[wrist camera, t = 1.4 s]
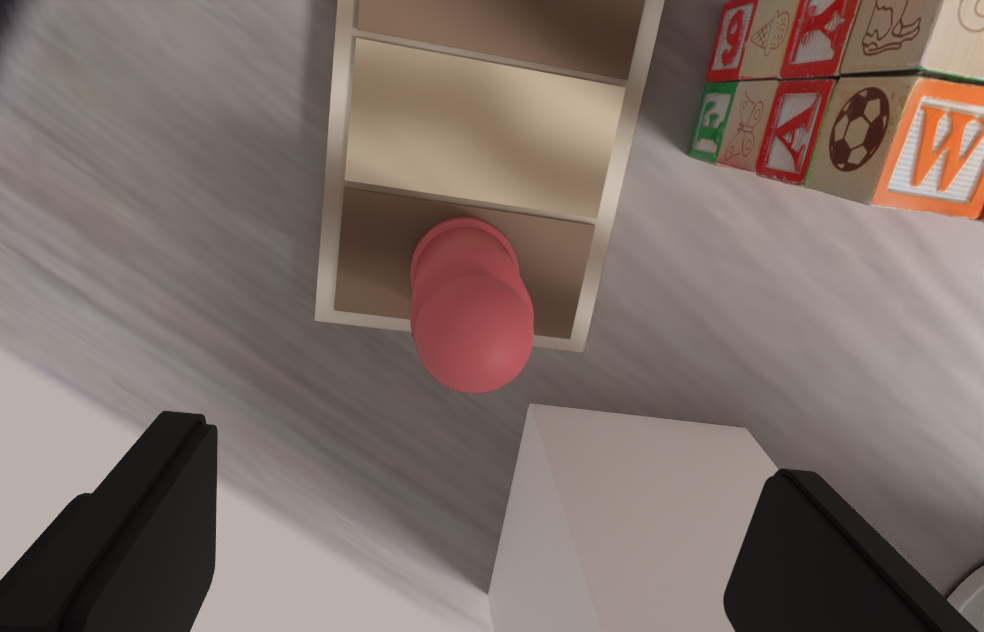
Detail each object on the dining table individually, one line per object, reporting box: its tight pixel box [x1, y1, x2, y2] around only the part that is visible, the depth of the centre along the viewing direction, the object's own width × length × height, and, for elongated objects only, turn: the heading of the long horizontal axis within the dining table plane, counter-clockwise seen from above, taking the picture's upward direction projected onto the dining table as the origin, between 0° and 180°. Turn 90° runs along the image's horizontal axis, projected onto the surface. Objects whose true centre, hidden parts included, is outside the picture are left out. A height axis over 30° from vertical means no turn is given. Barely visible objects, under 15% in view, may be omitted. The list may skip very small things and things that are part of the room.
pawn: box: [410, 216, 534, 394], centre depth 21 cm, size 4×4×9 cm
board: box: [314, 0, 665, 353], centre depth 23 cm, size 23×12×1 cm, turn 171°
